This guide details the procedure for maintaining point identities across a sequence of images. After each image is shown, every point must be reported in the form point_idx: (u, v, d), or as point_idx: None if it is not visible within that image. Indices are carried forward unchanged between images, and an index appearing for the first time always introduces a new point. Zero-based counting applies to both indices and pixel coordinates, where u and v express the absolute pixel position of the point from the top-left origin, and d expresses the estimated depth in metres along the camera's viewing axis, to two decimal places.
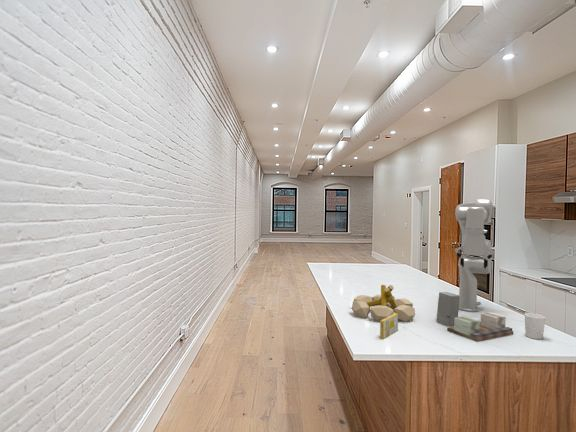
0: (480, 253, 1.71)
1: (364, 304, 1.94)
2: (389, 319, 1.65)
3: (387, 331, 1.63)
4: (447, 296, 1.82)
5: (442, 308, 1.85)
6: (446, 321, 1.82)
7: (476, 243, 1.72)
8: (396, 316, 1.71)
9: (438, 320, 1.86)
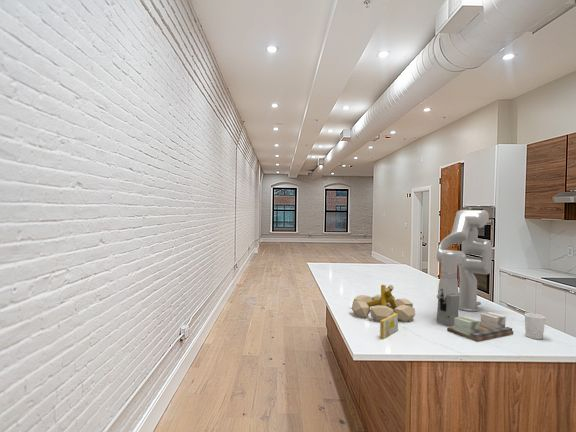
0: None
1: (364, 304, 1.94)
2: (389, 319, 1.65)
3: (387, 331, 1.63)
4: None
5: None
6: (446, 321, 1.82)
7: (453, 286, 1.83)
8: (396, 316, 1.71)
9: (438, 320, 1.86)
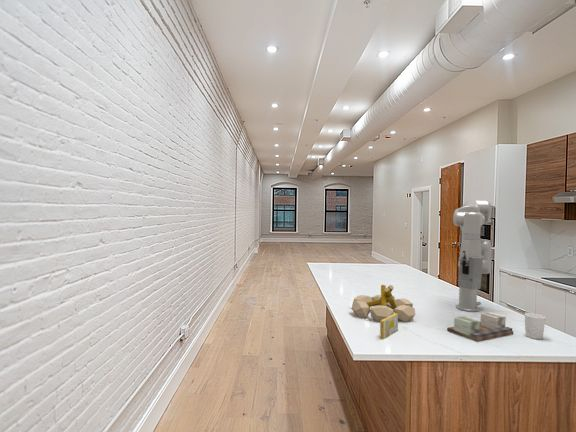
0: None
1: (364, 304, 1.94)
2: (389, 319, 1.65)
3: (387, 331, 1.63)
4: None
5: None
6: (469, 285, 1.73)
7: (476, 248, 1.74)
8: (396, 316, 1.71)
9: (460, 284, 1.77)
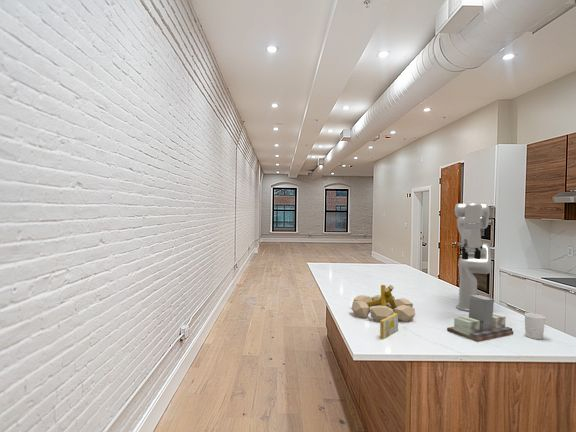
0: (478, 246, 1.88)
1: (364, 304, 1.93)
2: (389, 319, 1.65)
3: (387, 331, 1.63)
4: (480, 300, 1.70)
5: (474, 312, 1.72)
6: None
7: (477, 237, 1.87)
8: (396, 316, 1.71)
9: None
